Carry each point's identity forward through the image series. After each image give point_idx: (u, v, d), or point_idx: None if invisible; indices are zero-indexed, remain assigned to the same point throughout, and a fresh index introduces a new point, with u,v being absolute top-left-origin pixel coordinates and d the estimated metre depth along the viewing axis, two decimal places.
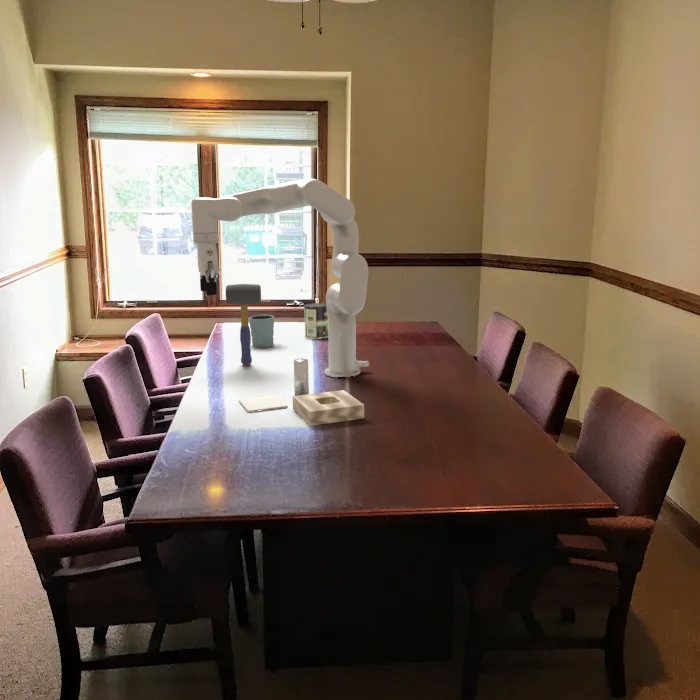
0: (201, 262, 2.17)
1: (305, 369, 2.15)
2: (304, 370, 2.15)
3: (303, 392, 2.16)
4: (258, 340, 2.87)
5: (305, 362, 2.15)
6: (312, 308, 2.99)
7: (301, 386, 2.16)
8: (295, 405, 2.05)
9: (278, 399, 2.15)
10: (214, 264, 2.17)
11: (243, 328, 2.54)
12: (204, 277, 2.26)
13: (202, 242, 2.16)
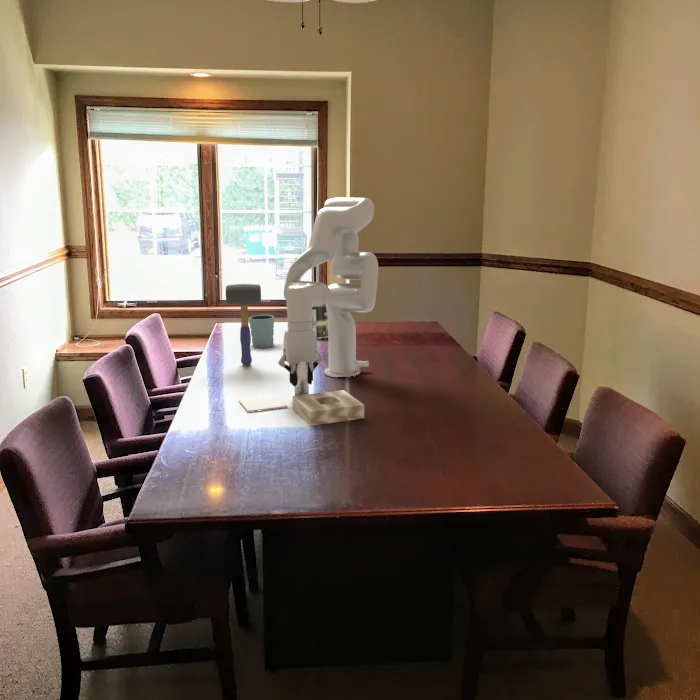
0: (312, 349, 2.14)
1: (305, 369, 2.15)
2: (304, 370, 2.15)
3: (303, 392, 2.16)
4: (258, 340, 2.87)
5: (305, 362, 2.14)
6: (312, 308, 2.99)
7: (301, 386, 2.16)
8: (295, 405, 2.05)
9: (278, 399, 2.15)
10: None
11: (243, 328, 2.54)
12: None
13: (312, 329, 2.13)
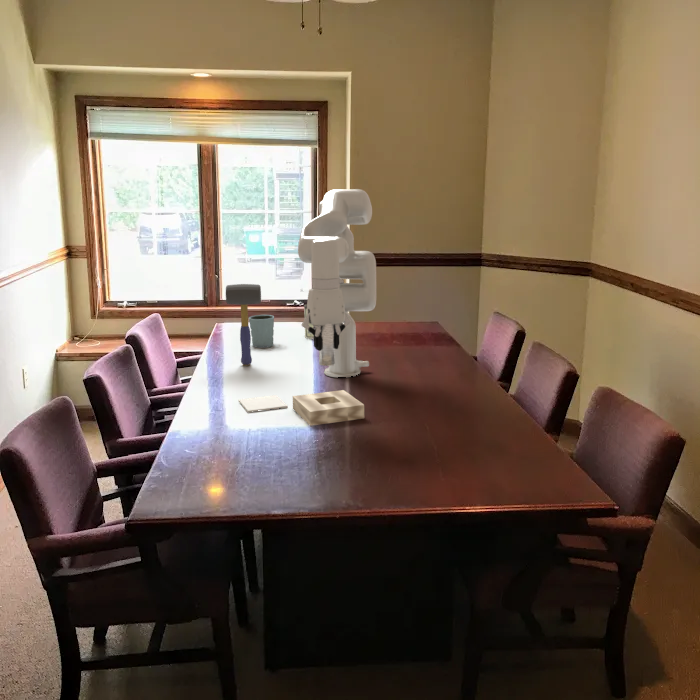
0: (339, 310, 1.95)
1: (331, 332, 1.96)
2: (329, 332, 1.96)
3: (329, 358, 1.97)
4: (258, 340, 2.87)
5: (331, 324, 1.96)
6: None
7: (327, 350, 1.97)
8: (295, 405, 2.05)
9: (278, 399, 2.15)
10: None
11: (243, 328, 2.54)
12: None
13: (339, 287, 1.95)
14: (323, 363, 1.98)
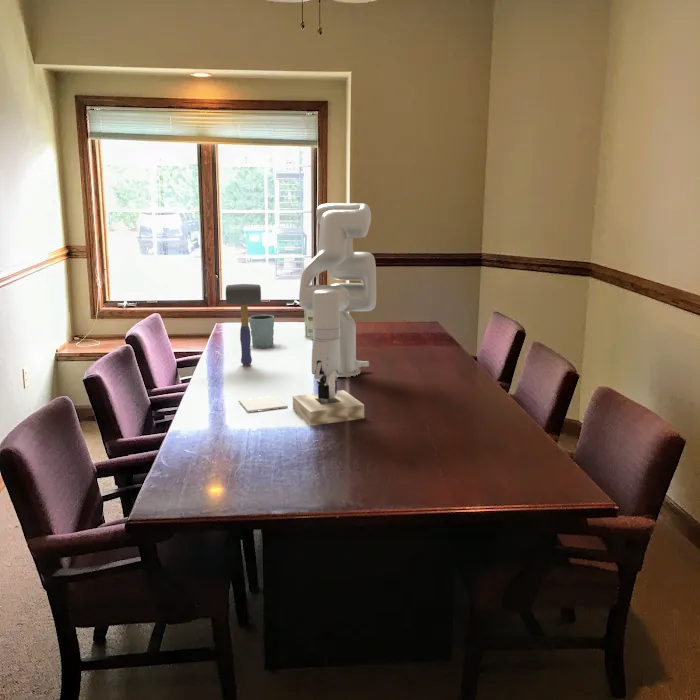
0: (338, 356, 2.01)
1: None
2: (334, 379, 2.00)
3: None
4: (258, 340, 2.87)
5: (334, 371, 2.00)
6: None
7: (333, 397, 2.01)
8: (295, 405, 2.05)
9: (278, 399, 2.15)
10: None
11: (243, 328, 2.54)
12: None
13: None
14: None
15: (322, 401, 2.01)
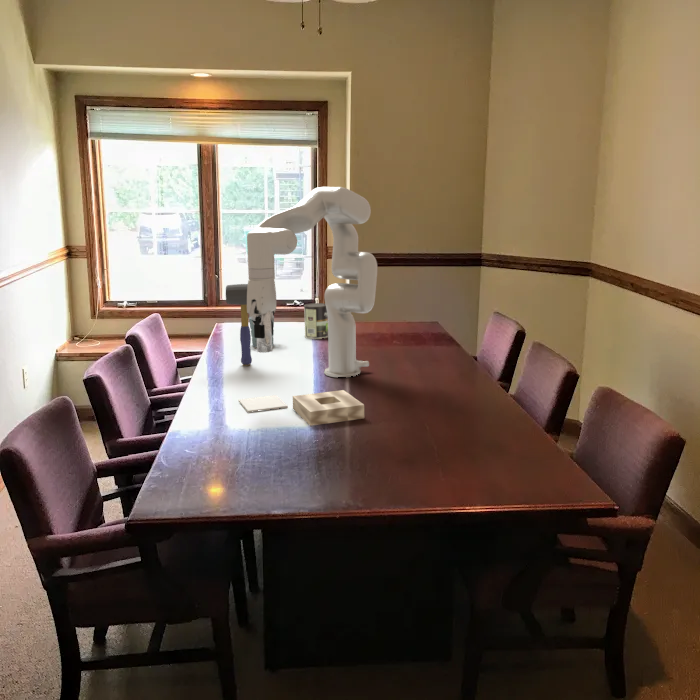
0: (274, 297, 2.06)
1: None
2: (270, 319, 2.05)
3: (270, 344, 2.06)
4: None
5: (270, 311, 2.05)
6: (312, 308, 2.99)
7: (269, 337, 2.06)
8: (295, 405, 2.05)
9: (278, 399, 2.15)
10: None
11: (243, 328, 2.54)
12: None
13: None
14: (266, 350, 2.06)
15: (258, 341, 2.05)
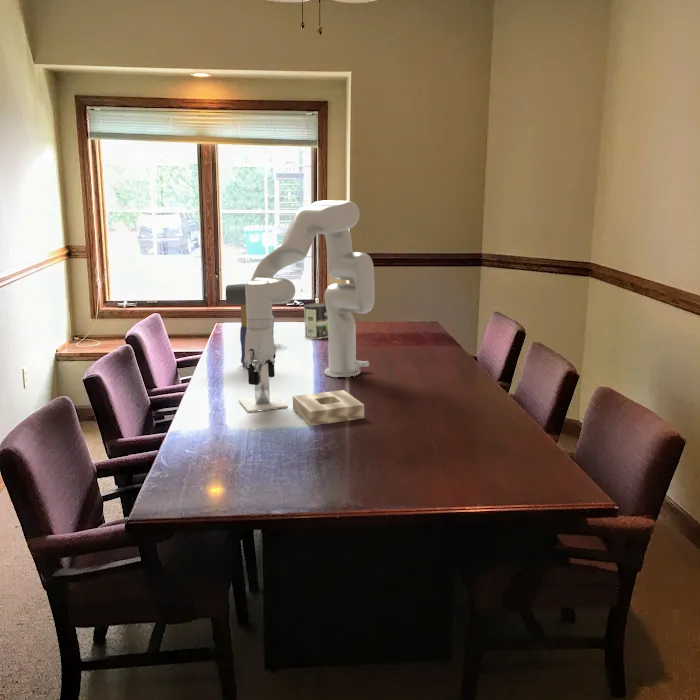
0: (272, 345, 2.10)
1: None
2: (267, 372, 2.09)
3: (268, 396, 2.11)
4: None
5: (267, 364, 2.09)
6: (312, 308, 2.99)
7: (267, 389, 2.10)
8: (295, 405, 2.05)
9: (278, 399, 2.15)
10: None
11: (243, 328, 2.54)
12: None
13: None
14: (264, 402, 2.10)
15: (256, 393, 2.10)
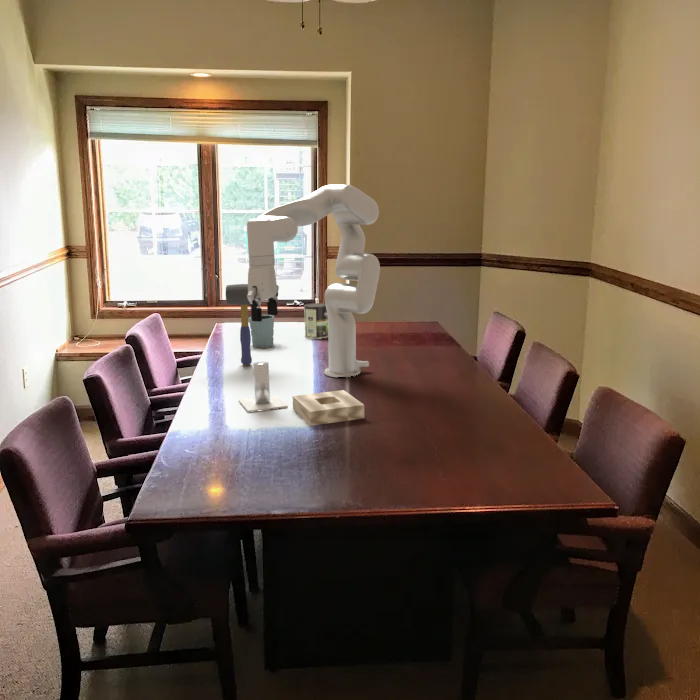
0: (274, 283, 2.12)
1: (268, 371, 2.10)
2: (268, 372, 2.09)
3: (268, 396, 2.11)
4: (258, 340, 2.87)
5: (267, 364, 2.10)
6: (312, 308, 2.99)
7: (267, 389, 2.10)
8: (295, 405, 2.05)
9: (278, 399, 2.15)
10: None
11: (243, 328, 2.54)
12: None
13: None
14: (264, 402, 2.10)
15: (256, 393, 2.10)
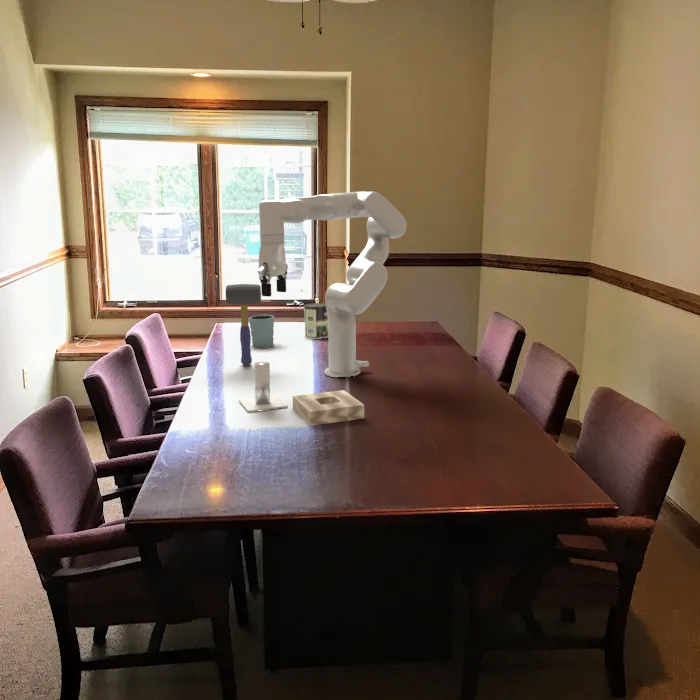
0: (284, 261, 2.26)
1: (269, 372, 2.10)
2: (268, 372, 2.09)
3: (268, 396, 2.11)
4: (258, 340, 2.87)
5: (269, 364, 2.09)
6: (312, 308, 2.99)
7: (267, 389, 2.10)
8: (295, 405, 2.05)
9: (278, 399, 2.15)
10: None
11: (243, 328, 2.54)
12: None
13: None
14: (264, 402, 2.10)
15: (256, 393, 2.10)
